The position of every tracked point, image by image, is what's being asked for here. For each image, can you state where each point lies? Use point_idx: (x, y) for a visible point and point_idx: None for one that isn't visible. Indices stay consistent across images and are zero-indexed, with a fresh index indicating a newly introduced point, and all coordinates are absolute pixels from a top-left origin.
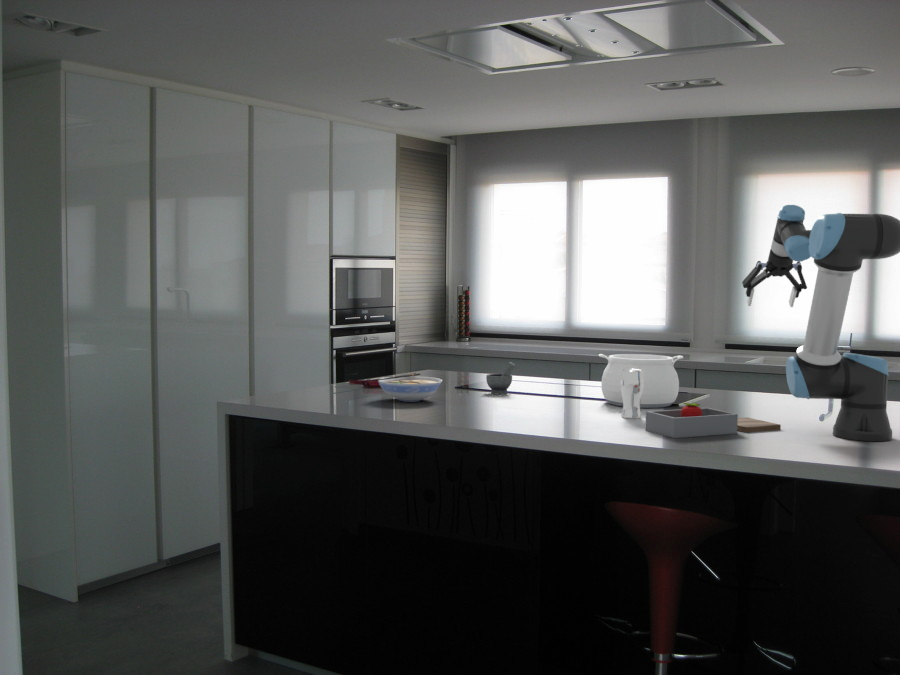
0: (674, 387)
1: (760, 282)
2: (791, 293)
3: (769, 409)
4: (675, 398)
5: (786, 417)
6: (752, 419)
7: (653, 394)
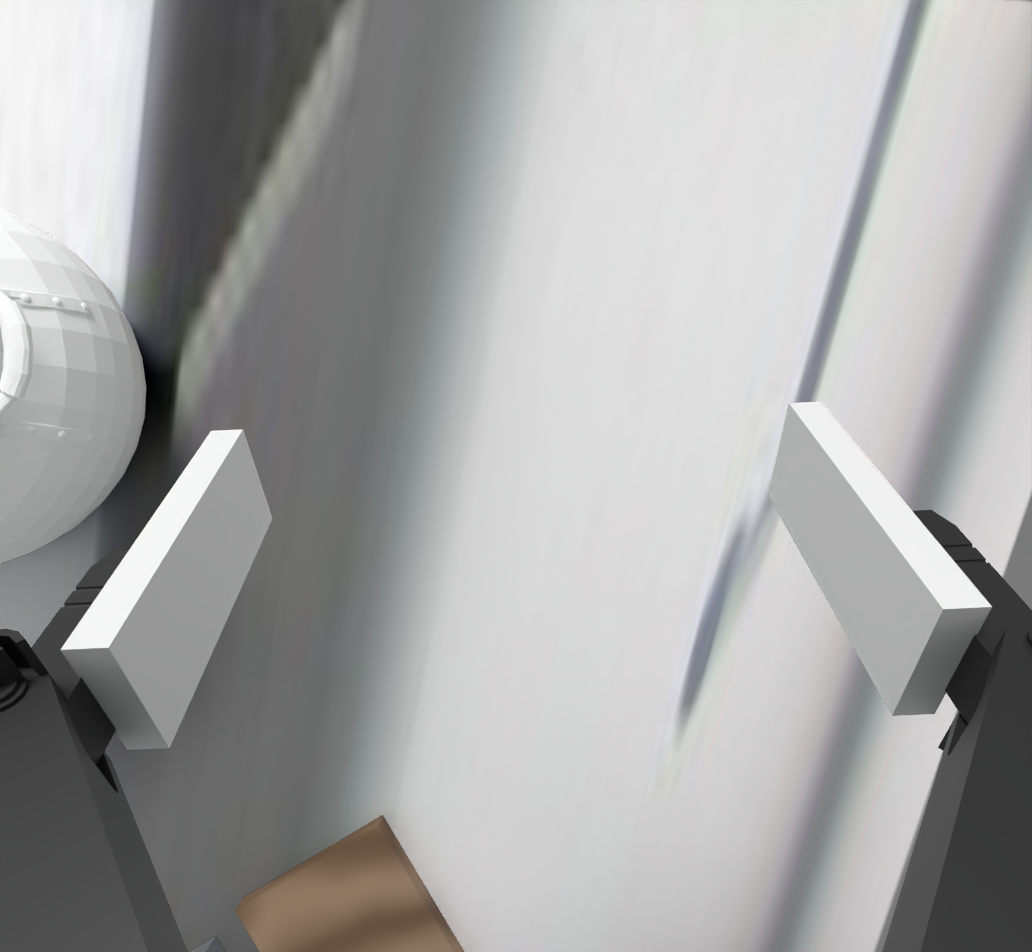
0: (87, 488)
1: (178, 943)
2: (859, 521)
3: (545, 441)
4: (135, 442)
5: (566, 655)
6: (389, 874)
7: (4, 561)
